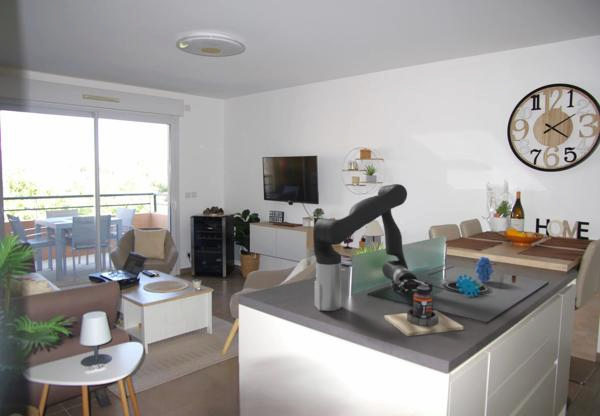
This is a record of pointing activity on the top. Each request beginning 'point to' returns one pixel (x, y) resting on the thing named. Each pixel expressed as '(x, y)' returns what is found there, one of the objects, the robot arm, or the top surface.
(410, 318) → the metal collar
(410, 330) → the birch board
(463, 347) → the top surface
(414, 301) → the supplement bottle
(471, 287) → the gear
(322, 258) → the robot arm
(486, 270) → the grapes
